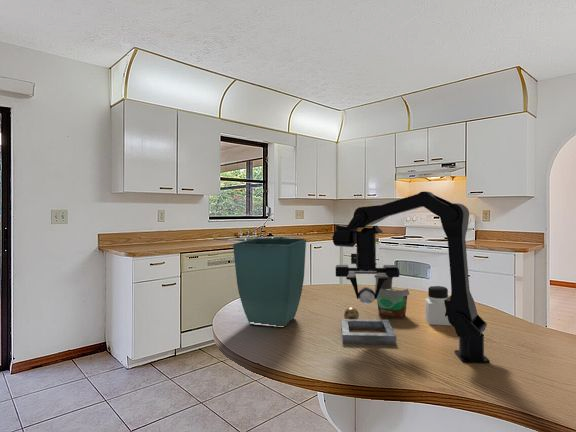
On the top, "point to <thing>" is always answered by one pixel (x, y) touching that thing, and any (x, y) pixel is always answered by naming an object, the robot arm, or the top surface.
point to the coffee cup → (386, 283)
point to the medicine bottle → (436, 306)
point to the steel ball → (366, 295)
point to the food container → (392, 303)
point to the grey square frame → (367, 338)
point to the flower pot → (270, 278)
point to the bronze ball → (351, 313)
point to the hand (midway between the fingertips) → (366, 298)
